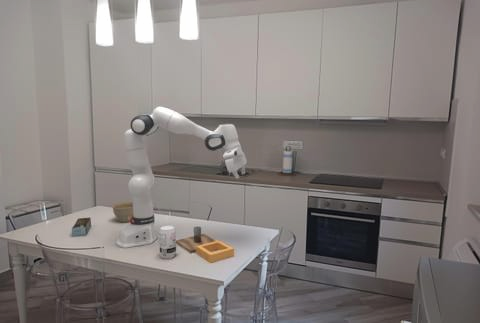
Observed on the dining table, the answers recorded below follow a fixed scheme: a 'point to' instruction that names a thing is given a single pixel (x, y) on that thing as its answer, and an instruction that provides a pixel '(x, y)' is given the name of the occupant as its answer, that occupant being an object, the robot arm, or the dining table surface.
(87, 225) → the beverage carton
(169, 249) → the supplement can
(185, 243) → the wooden peg stand
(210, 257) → the orange square tray
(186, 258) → the dining table surface
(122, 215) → the planter bowl
